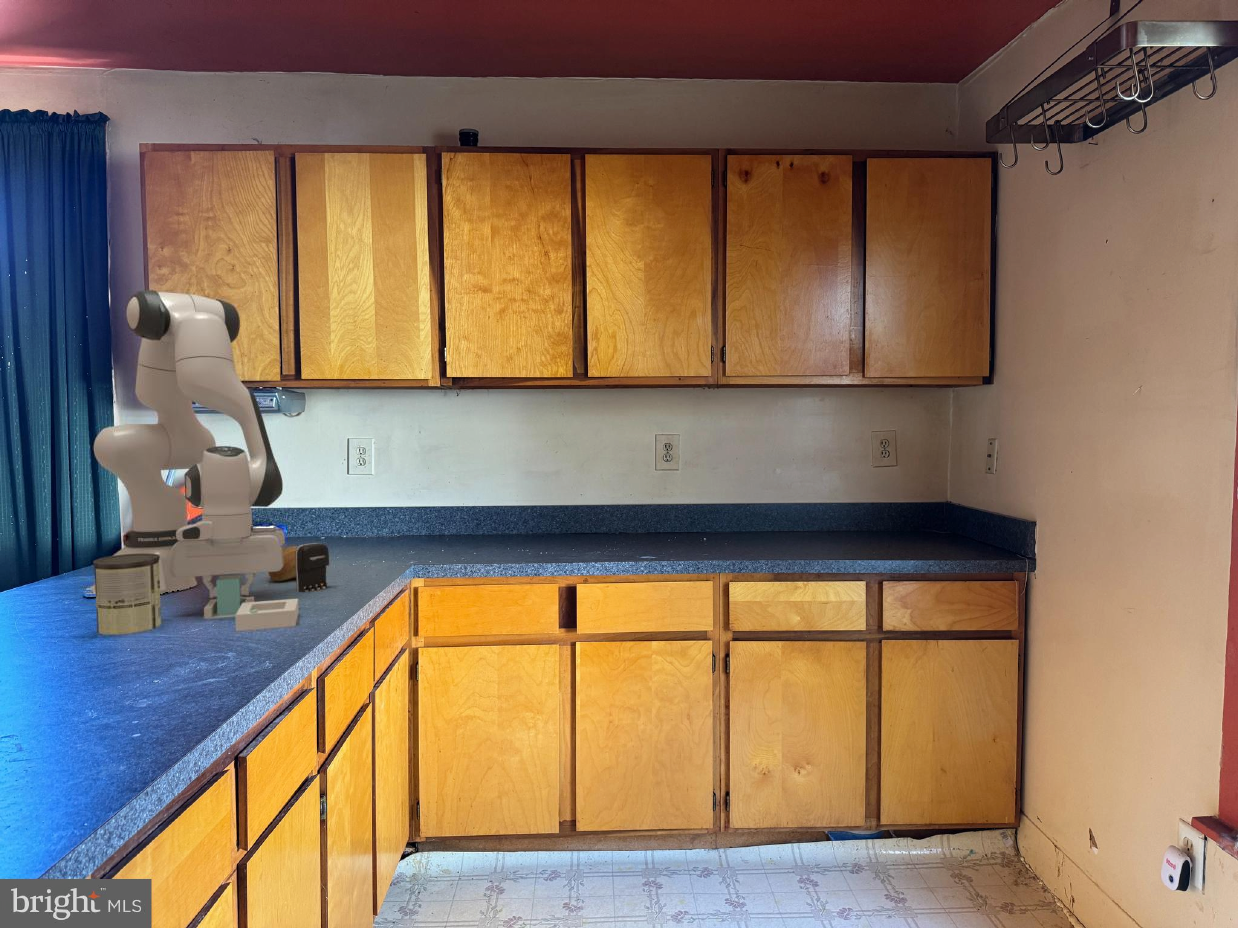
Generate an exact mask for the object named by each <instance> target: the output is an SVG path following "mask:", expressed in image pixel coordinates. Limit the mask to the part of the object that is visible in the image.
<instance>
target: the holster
mask: <svg viewBox="0 0 1238 928" xmlns="http://www.w3.org/2000/svg"><path fill="white" fill-rule="evenodd" d="M247 602H255V596H246V597H244V596H242V603H247ZM235 615H236V614H230V615H217V598H216V599H214V598H213V599H210V600H209V601H208V603H207V604H206V605H205V607H204V608H203V619H204V620H210V619H211V620H212V619H222V618H224V619H225V618H232V617H233V618H234V617H235V618H236V616H235Z"/></svg>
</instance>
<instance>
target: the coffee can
mask: <svg viewBox="0 0 1238 928" xmlns="http://www.w3.org/2000/svg"><path fill="white" fill-rule="evenodd" d="M159 559H160V556H159V555H157V554H149V553H148V554H147V553H140V554H124V555H116V556H113V555H111V556H110V555H109V556H106V557H105V556H104V557H100V558H98V559H95V560H93V567H94V584H95V589H96V598H95V607H96V627H97V630H96V631H97V634H98V633H99V635H103V636H104V635H105V636H115V635H117V636H118V635H120V636H121V635H122V636H123V635H129V634H136V633H142V632H147V631H151V630H153V629H157V628H158V627H160V626H162V606H161V595H160V576H159Z"/></svg>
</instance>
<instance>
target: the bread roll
mask: <svg viewBox="0 0 1238 928" xmlns="http://www.w3.org/2000/svg"><path fill="white" fill-rule="evenodd" d="M297 547H299V545H297V546H296V545H291V546H284V547H283V546H282V551H283V558H284V566H283V567H282V569H281V570H280V571H274V572H267V573H268V576H269V578H270V579H271V580H273V581H276V582H281V581H286V580H291V579H296V569H295V551H296V549H297Z"/></svg>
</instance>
